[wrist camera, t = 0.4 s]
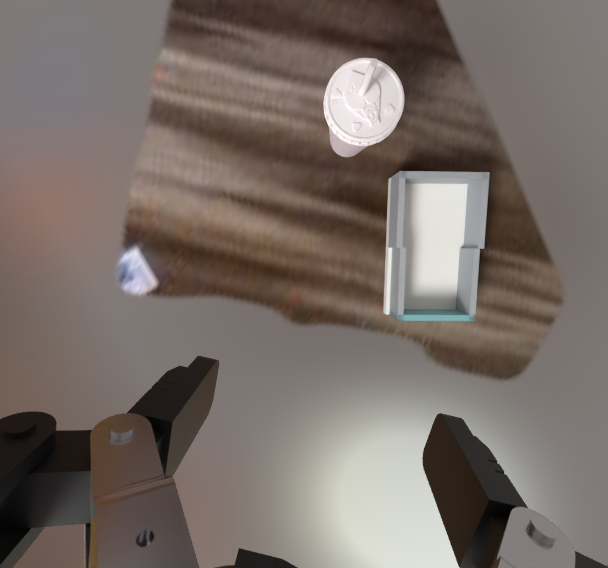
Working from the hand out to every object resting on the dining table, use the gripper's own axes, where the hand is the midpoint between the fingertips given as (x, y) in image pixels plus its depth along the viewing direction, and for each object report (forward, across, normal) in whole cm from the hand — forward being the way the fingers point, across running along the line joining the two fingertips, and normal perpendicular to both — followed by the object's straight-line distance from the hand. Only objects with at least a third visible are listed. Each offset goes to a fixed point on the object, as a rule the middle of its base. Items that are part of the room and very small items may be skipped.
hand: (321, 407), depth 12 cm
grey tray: (+27, -10, -5) cm, 30 cm away
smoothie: (+28, +1, -14) cm, 31 cm away
